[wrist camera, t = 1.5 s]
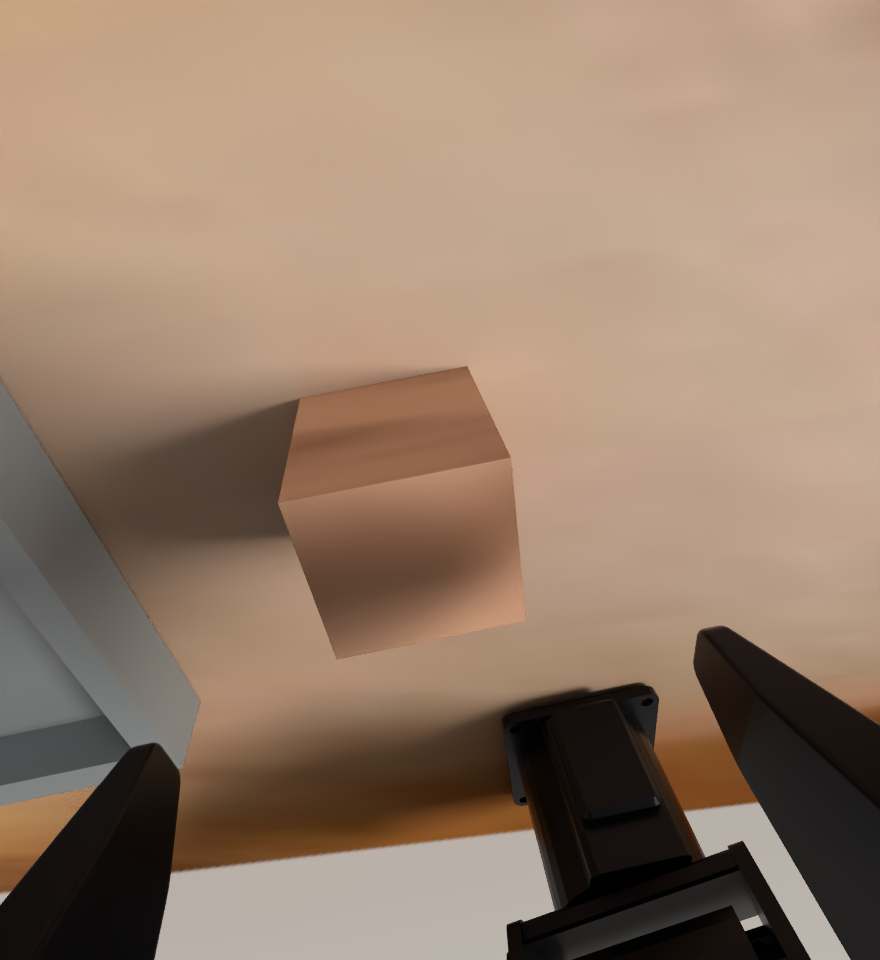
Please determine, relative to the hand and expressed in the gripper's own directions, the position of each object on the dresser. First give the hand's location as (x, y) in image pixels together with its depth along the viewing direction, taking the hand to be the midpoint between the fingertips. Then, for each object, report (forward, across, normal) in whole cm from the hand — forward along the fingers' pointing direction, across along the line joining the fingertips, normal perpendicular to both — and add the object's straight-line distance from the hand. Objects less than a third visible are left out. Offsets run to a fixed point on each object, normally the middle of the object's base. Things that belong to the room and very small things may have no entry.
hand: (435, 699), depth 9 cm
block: (+8, 0, 0) cm, 8 cm away
